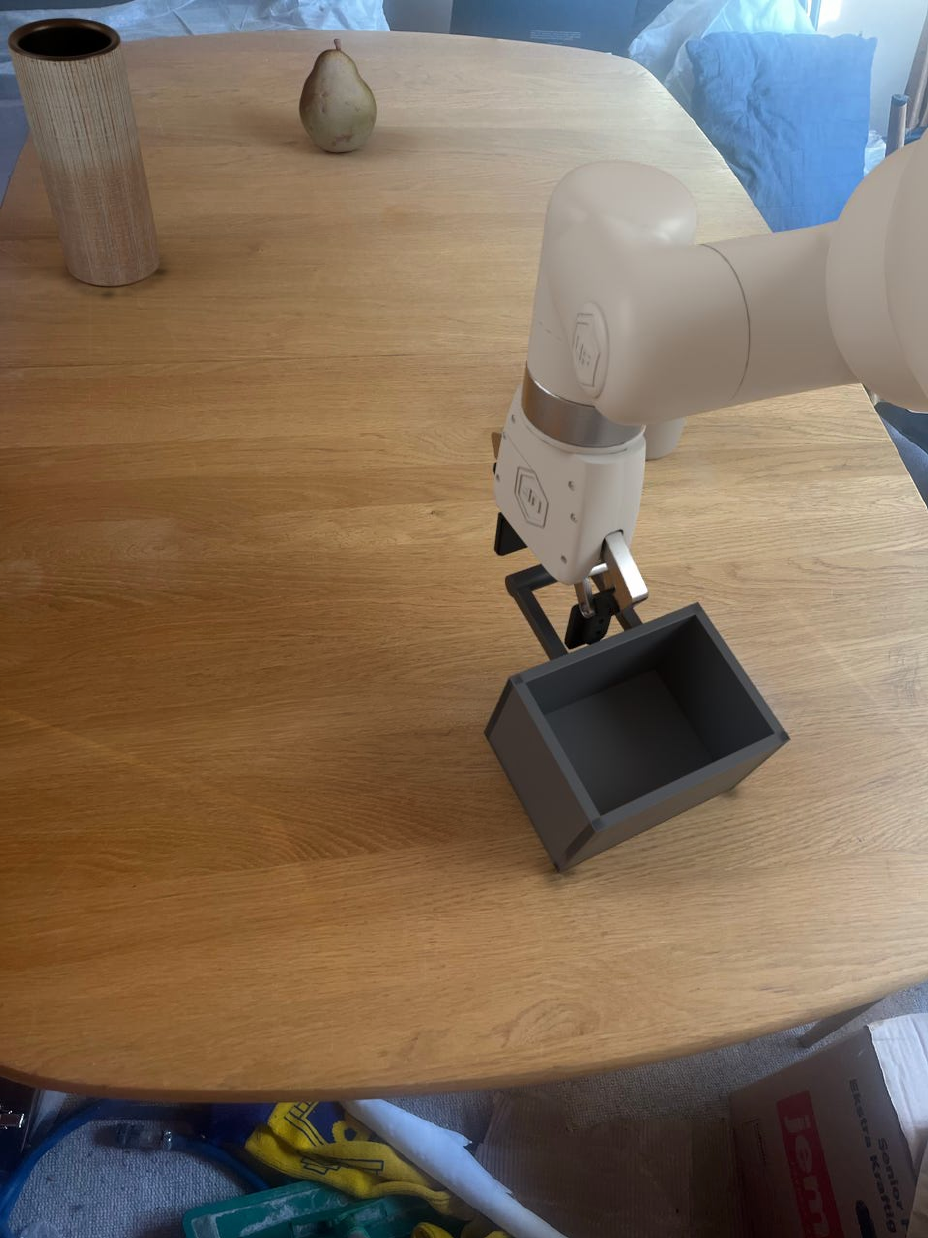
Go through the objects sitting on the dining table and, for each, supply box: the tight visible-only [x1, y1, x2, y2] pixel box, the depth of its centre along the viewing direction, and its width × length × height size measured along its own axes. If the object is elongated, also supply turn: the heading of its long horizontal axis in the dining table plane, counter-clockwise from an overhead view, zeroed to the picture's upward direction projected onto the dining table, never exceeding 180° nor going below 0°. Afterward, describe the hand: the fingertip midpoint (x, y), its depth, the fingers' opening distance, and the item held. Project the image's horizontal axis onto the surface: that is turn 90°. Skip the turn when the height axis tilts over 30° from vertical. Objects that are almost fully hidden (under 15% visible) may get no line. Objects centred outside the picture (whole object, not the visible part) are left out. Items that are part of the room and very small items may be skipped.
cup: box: [643, 417, 688, 461], centre depth 91 cm, size 7×10×9 cm
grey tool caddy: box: [483, 556, 792, 874], centre depth 66 cm, size 18×15×9 cm
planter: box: [7, 17, 161, 287], centre depth 98 cm, size 10×10×23 cm
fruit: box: [298, 38, 378, 153], centre depth 124 cm, size 10×9×12 cm
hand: (547, 592), depth 68 cm, fingers open, 9 cm apart
